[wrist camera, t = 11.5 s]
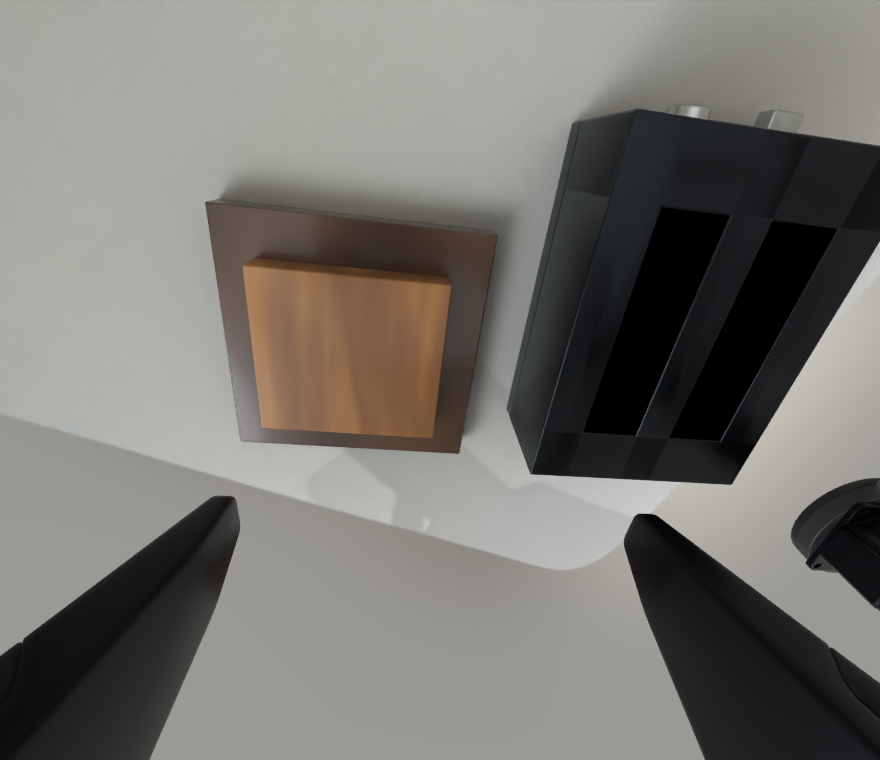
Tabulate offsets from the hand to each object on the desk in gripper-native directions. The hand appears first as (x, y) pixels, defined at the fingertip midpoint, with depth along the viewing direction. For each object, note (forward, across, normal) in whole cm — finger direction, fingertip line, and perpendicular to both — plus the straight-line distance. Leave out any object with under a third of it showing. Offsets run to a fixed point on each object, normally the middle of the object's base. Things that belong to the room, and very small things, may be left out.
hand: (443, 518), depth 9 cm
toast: (+11, -1, +2) cm, 11 cm away
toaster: (+13, -10, -2) cm, 16 cm away
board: (+13, +3, +2) cm, 13 cm away
